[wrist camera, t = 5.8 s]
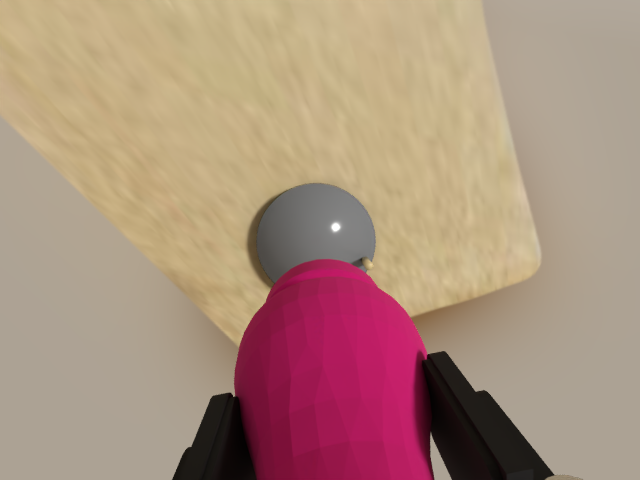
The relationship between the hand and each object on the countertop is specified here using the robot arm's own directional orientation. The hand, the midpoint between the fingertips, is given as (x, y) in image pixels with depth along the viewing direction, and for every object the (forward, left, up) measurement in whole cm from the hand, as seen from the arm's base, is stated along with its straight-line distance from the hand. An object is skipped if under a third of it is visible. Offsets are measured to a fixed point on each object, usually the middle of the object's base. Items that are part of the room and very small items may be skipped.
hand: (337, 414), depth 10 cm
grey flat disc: (0, 0, -23) cm, 23 cm away
